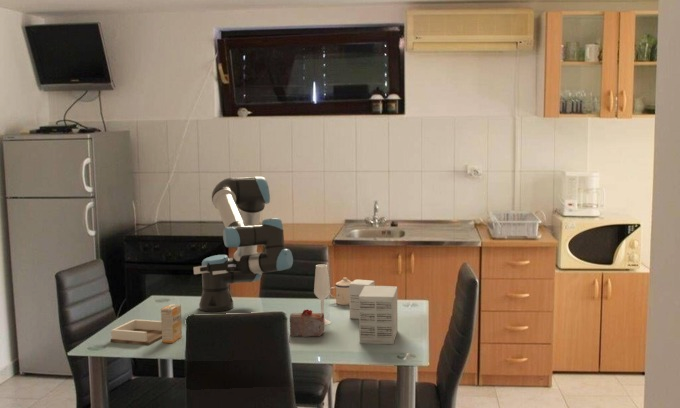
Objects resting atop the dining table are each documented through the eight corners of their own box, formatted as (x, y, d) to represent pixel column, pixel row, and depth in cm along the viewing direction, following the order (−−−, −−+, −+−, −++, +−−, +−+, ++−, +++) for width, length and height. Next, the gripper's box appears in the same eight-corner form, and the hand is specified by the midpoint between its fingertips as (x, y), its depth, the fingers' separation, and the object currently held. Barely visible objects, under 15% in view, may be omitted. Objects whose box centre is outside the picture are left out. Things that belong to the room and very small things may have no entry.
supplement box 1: (173, 343, 261) (172, 309, 259) (161, 342, 262) (160, 308, 260) (182, 336, 269) (181, 303, 267) (171, 336, 270) (169, 303, 268)
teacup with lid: (356, 300, 320) (356, 275, 318) (354, 305, 311) (353, 280, 310) (330, 300, 321) (330, 275, 320) (327, 305, 312) (327, 279, 311)
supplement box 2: (355, 313, 298) (355, 279, 297) (375, 314, 295) (375, 280, 294) (348, 318, 290) (348, 283, 288) (369, 320, 287) (368, 284, 285)
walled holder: (171, 332, 274) (171, 321, 274) (149, 345, 259) (149, 333, 258) (134, 329, 279) (134, 318, 278) (110, 341, 264) (109, 330, 263)
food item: (325, 331, 272) (325, 307, 271) (324, 338, 264) (323, 312, 263) (291, 332, 272) (290, 307, 271) (288, 338, 265) (288, 313, 263)
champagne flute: (325, 326, 280) (324, 267, 277) (311, 323, 283) (310, 266, 280) (333, 321, 285) (332, 264, 283) (319, 319, 289) (318, 263, 286)
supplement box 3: (364, 330, 273) (364, 285, 271) (398, 331, 271) (397, 285, 269) (358, 343, 256) (357, 295, 254) (394, 344, 254) (393, 296, 252)
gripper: (237, 273, 247) (186, 280, 254) (268, 274, 271) (221, 280, 278) (235, 252, 248) (185, 260, 255) (266, 255, 272) (219, 262, 279)
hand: (203, 271), depth 266 cm, fingers open, 13 cm apart
